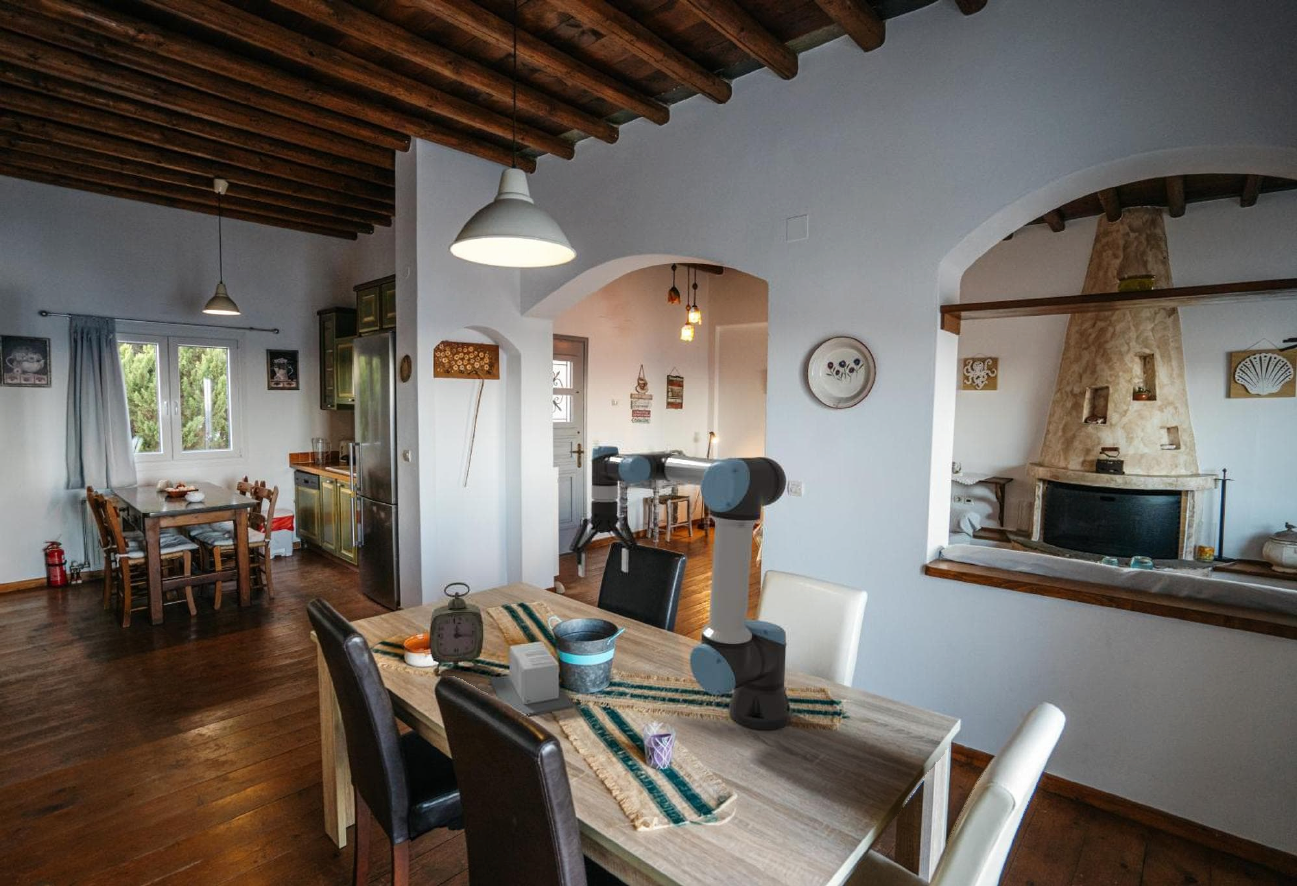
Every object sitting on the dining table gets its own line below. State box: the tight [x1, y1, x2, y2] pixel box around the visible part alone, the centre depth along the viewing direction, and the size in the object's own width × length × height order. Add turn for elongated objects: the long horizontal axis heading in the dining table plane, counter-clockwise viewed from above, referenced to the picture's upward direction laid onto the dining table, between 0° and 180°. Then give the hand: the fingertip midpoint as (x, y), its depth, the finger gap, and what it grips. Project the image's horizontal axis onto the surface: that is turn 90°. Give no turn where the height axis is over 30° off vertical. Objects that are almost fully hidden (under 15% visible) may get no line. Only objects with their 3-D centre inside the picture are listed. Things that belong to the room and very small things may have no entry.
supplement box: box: [509, 641, 560, 704], centre depth 168 cm, size 10×9×17 cm
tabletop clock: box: [429, 581, 484, 675], centre depth 181 cm, size 14×9×25 cm, turn 108°
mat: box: [489, 674, 574, 717], centre depth 167 cm, size 24×16×1 cm, turn 26°
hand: (603, 573), depth 182 cm, fingers open, 13 cm apart
